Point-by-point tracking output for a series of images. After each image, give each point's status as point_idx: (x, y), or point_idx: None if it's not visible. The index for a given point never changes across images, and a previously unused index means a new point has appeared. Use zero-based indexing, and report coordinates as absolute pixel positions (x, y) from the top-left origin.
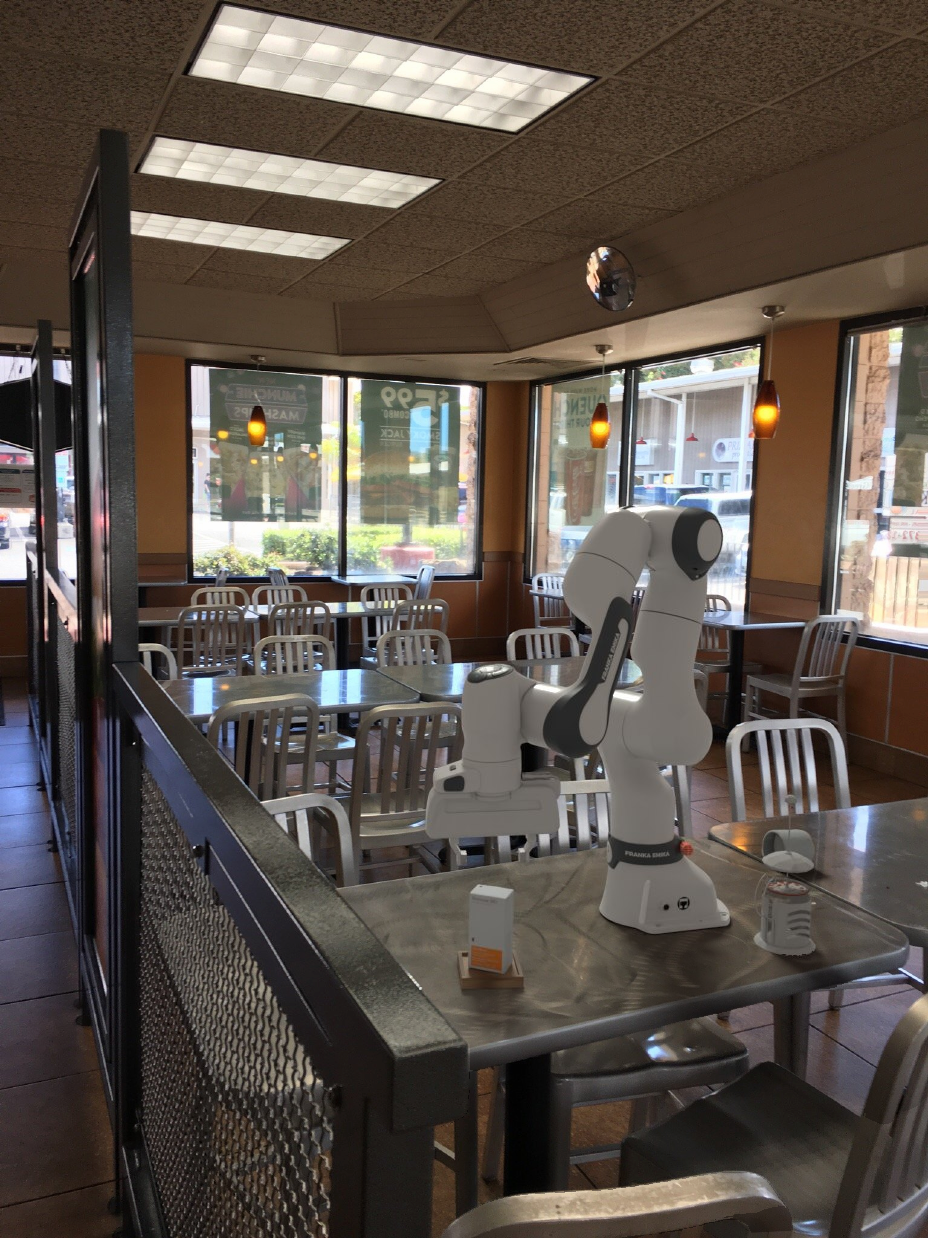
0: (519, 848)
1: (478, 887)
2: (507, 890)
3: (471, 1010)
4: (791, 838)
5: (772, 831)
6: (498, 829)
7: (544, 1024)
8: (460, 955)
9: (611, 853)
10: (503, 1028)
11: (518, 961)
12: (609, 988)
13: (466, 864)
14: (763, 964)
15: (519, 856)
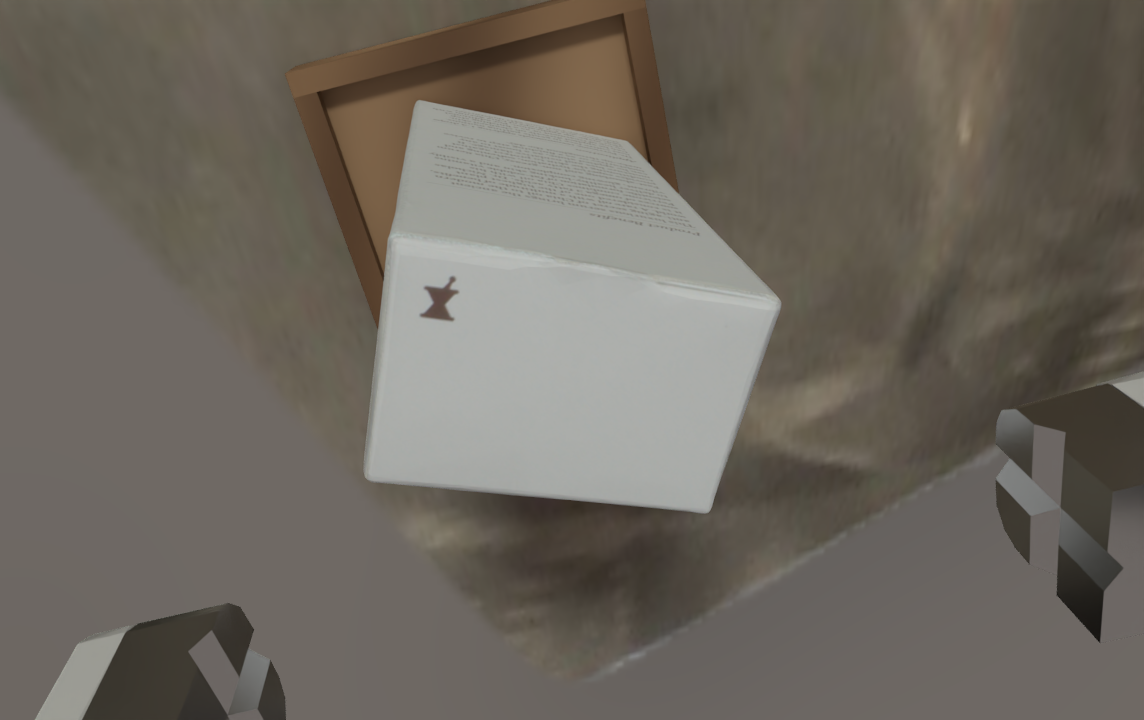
0: (1135, 491)
1: (420, 338)
2: (721, 349)
3: (484, 514)
4: None
5: None
6: None
7: (770, 542)
8: (320, 134)
9: None
10: (624, 597)
11: (666, 147)
12: (1070, 215)
13: (280, 711)
14: None
15: (1047, 493)
